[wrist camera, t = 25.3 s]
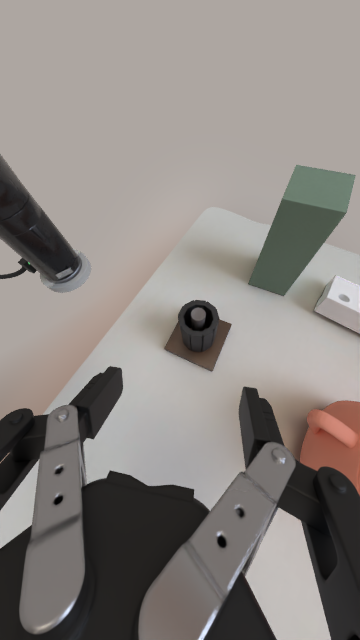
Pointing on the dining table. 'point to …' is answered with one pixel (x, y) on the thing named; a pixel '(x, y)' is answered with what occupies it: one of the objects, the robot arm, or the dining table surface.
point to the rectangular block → (301, 225)
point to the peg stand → (201, 358)
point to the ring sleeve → (198, 338)
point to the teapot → (334, 440)
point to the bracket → (341, 303)
